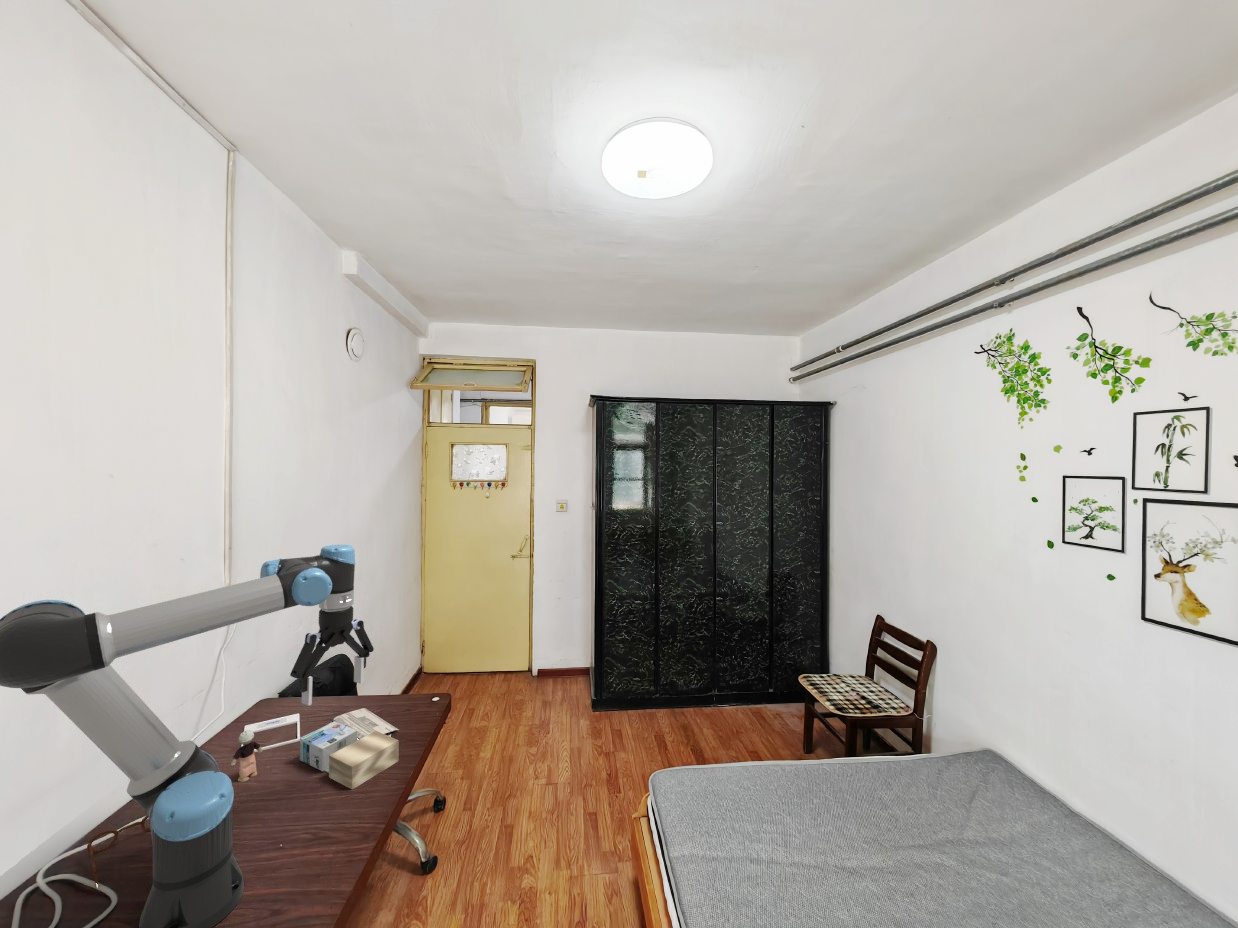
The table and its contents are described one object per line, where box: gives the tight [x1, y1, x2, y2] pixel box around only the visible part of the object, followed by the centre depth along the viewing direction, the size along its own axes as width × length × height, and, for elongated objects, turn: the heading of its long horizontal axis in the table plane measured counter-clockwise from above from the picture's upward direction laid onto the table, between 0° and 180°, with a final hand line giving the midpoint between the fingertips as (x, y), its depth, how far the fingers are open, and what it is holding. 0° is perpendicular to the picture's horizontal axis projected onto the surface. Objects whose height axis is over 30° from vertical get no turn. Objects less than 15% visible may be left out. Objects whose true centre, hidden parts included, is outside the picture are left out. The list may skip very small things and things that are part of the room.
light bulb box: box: [299, 720, 357, 772], centre depth 143 cm, size 11×7×11 cm
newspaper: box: [328, 707, 400, 739], centre depth 159 cm, size 23×12×2 cm, turn 53°
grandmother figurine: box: [230, 730, 264, 783], centre depth 134 cm, size 8×4×13 cm, turn 168°
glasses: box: [86, 814, 151, 884], centre depth 109 cm, size 13×13×5 cm
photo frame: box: [240, 713, 301, 753], centre depth 155 cm, size 15×1×18 cm
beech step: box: [328, 731, 400, 790], centre depth 139 cm, size 14×10×6 cm
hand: (333, 692), depth 125 cm, fingers open, 13 cm apart
